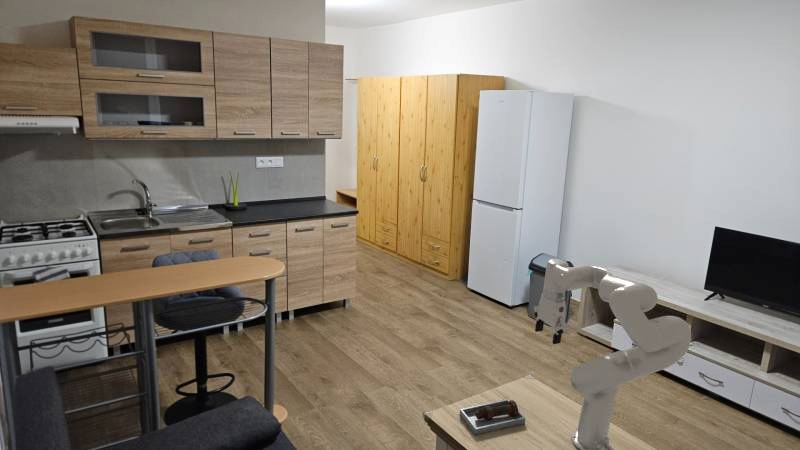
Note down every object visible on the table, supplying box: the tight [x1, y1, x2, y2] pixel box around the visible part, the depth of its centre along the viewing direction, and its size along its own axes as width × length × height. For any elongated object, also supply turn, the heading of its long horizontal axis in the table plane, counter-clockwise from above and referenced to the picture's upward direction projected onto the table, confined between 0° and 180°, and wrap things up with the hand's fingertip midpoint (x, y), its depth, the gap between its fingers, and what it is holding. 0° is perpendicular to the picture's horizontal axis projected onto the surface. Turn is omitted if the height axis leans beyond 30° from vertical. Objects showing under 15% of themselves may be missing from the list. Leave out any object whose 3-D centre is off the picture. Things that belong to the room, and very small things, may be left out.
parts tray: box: [459, 398, 526, 436], centre depth 186 cm, size 11×20×2 cm, turn 112°
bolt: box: [475, 399, 519, 421], centre depth 186 cm, size 6×5×15 cm
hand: (547, 337), depth 191 cm, fingers open, 9 cm apart
